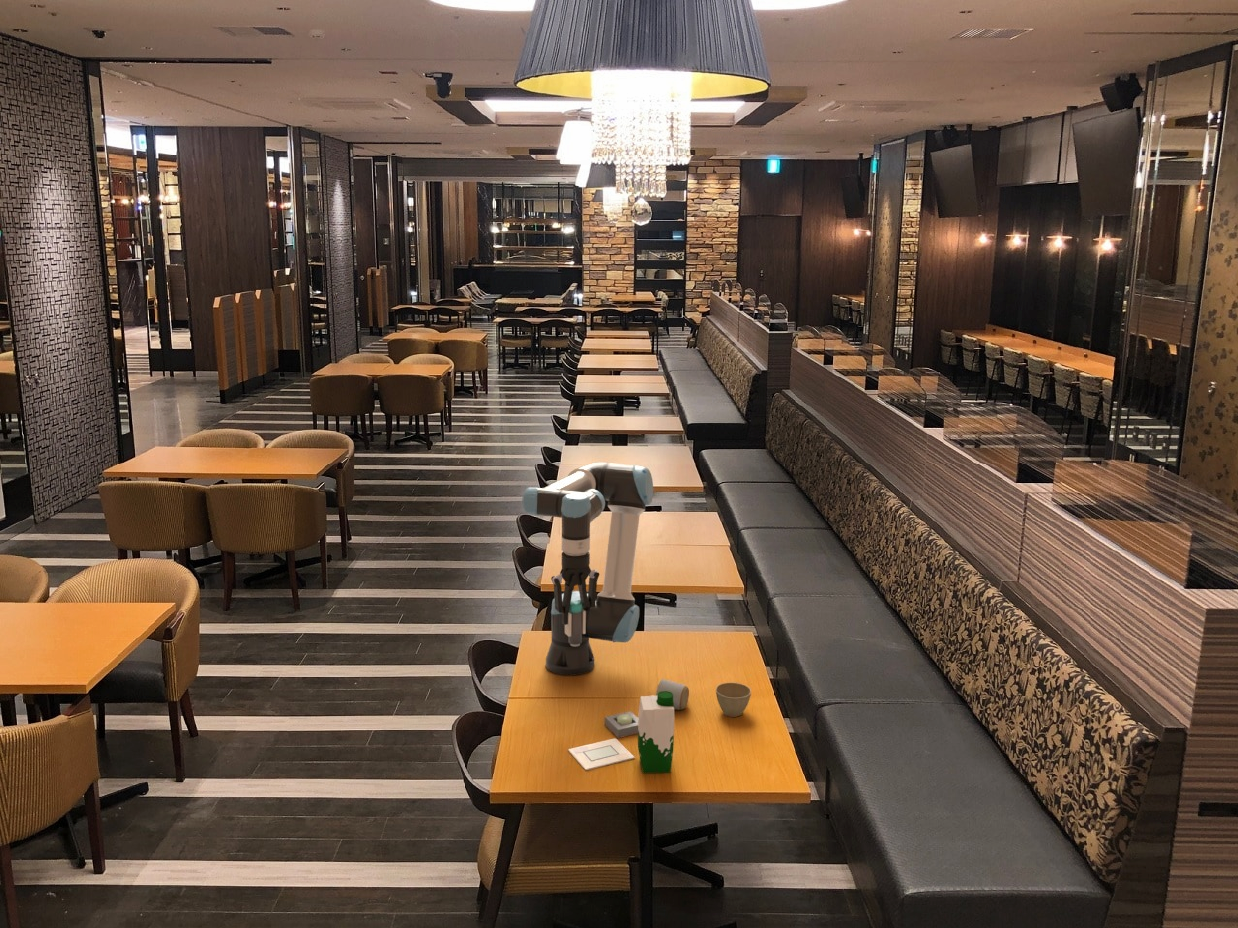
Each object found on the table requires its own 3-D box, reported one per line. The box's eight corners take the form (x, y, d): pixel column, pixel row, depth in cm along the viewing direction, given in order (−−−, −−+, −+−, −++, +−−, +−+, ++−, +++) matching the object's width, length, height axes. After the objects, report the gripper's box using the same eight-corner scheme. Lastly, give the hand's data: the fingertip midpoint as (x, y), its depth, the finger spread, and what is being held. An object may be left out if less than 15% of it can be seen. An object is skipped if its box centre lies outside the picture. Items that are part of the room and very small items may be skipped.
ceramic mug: (681, 715, 296) (682, 689, 294) (654, 709, 298) (655, 684, 297) (693, 699, 305) (694, 675, 304) (666, 694, 308) (667, 670, 306)
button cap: (614, 726, 288) (614, 716, 288) (627, 723, 290) (627, 713, 289) (621, 732, 285) (621, 722, 284) (634, 729, 287) (634, 719, 286)
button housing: (604, 724, 289) (605, 716, 289) (630, 718, 293) (630, 711, 292) (617, 737, 282) (618, 729, 282) (644, 731, 286) (644, 723, 285)
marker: (571, 648, 282) (572, 606, 280) (566, 643, 286) (566, 602, 283) (584, 645, 284) (584, 604, 281) (578, 640, 287) (578, 599, 284)
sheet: (568, 750, 275) (568, 748, 275) (615, 739, 282) (615, 737, 281) (585, 770, 266) (585, 768, 266) (634, 758, 272) (634, 756, 272)
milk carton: (674, 774, 265) (677, 702, 260) (639, 775, 264) (640, 703, 259) (670, 756, 273) (672, 686, 268) (635, 757, 272) (637, 687, 268)
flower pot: (754, 709, 300) (755, 686, 298) (743, 724, 291) (744, 700, 289) (721, 701, 304) (722, 679, 302) (709, 716, 295) (710, 693, 293)
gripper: (552, 560, 271) (552, 643, 277) (609, 551, 279) (608, 633, 285) (541, 551, 278) (541, 633, 284) (597, 543, 285) (596, 623, 291)
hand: (575, 633), depth 284 cm, fingers closed on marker, 3 cm apart
